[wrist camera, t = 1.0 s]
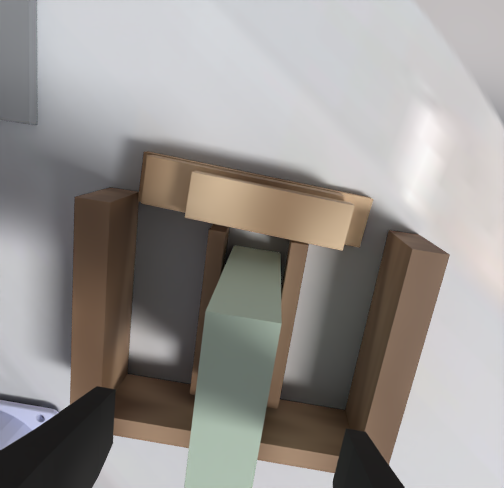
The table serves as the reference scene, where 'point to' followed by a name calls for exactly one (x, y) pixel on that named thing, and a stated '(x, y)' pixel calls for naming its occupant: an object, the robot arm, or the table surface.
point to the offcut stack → (254, 201)
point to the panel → (235, 371)
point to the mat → (18, 61)
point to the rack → (278, 411)
